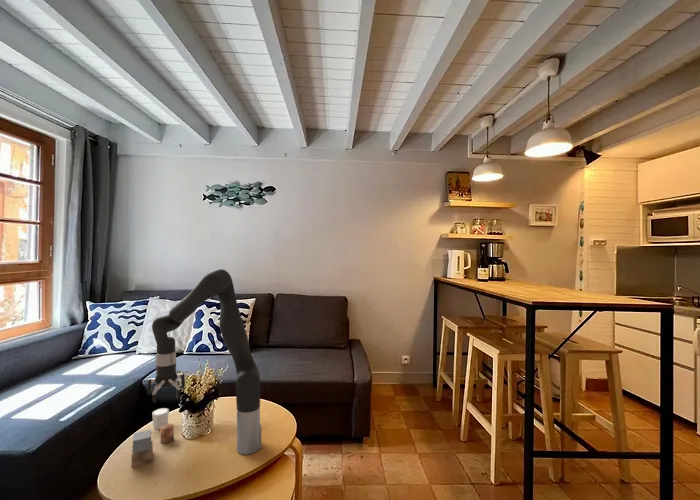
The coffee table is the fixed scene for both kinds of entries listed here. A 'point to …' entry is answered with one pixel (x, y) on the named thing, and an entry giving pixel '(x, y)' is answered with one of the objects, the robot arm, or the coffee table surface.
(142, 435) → the tower top
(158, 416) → the white cylinder
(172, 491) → the coffee table surface
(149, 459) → the tower base
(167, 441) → the brown rounded knob
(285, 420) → the coffee table surface
